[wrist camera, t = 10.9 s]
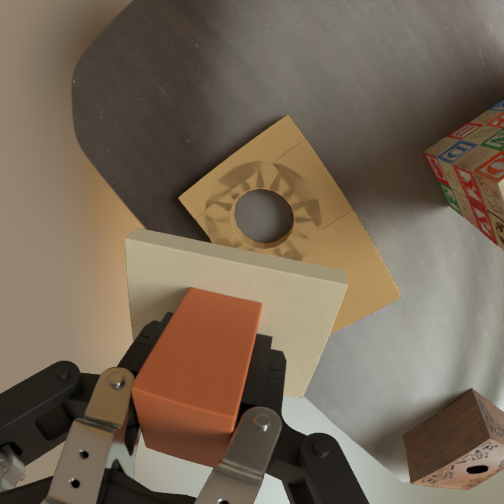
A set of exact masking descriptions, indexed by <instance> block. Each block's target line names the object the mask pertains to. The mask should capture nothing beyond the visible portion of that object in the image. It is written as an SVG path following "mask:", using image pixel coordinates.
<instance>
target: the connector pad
mask: <svg viewBox="0 0 504 504" xmlns="http://www.w3.org/2000/svg"><path fill="white" fill-rule="evenodd" d="M125 254H126V272H127V286H128V298H129V309H130V317H131V327H132V334H133V342H134V340H135V339H136V337H137V336H139V333H140V332H141V330H142V329H143V327H144V326H145V325H147V324H148V323H150V322H151V321H153V320H156V321H159V322H161V321H162V319H163V317H164V316H165V314H166V313H167V312H172V313H174V314H173V316H172V318H171V319H170V321H169V323H168V324H167V326H166V328H165V329H164V331H163V333H162V334H161V336H160V337H159V339H158V341H157V342H156V344H155V346H154V348H153V349H152V351H151V353H150V354H149V356H148V358H147V359H146V361H145V363H144V364H143V366H142V368H141V369H140V371H139V373H138V375H137V376H136V378H135V380H134V381H133V383H132V385H131V387H130V389H131V394H132V398H133V402H134V406H135V410H136V414H137V417H138V421H139V425H140V428H141V432H142V435H143V438H144V442H145V445H146V447H147V448H150V449H153V450H156V451H158V452H161V453H164V454H167V455H171V456H174V457H177V458H181V459H184V460H187V461H191V462H195V463H198V464H202V465H205V466H210V467H213V468H214V466H215V465H216V463H217V462H218V461H219V460H220V459H221V457H222V455H223V453H224V452H225V450H226V448H227V446H228V444H229V442H230V440H231V438H232V436H233V432H234V428H235V424H236V419H237V415H238V411H239V406H240V402H241V398H242V393H243V389H244V385H245V381H246V377H247V372H248V368H249V364H250V360H251V355H252V351H253V347H254V342H255V338H256V333H258V334H263V335H268V336H273V338H272V345H271V349H274V350H279V351H283V353H284V355H285V358H286V360H287V364H286V372H285V373H286V374H285V383H284V392H283V395H287V396H294V397H299V398H302V397H303V395H304V393H305V391H306V389H307V386H308V384H309V382H310V380H311V377H312V375H313V373H314V371H315V368H316V366H317V364H318V361H319V359H320V357H321V354H322V352H323V349H324V347H325V344H326V342H327V339H328V337H329V334H330V332H331V329H332V327H333V324H334V322H335V319H336V316H337V314H338V311H339V308H340V306H341V303H342V300H343V297H344V295H345V292H346V289H347V286H348V284H347V280H346V275H345V271H344V270H340V269H335V268H330V267H325V266H321V265H316V264H311V263H306V262H301V261H296V260H291V259H286V258H282V257H277V256H272V255H267V254H262V253H257V252H252V251H247V250H243V249H238V248H233V247H228V246H223V245H218V244H213V243H208V242H203V241H199V240H194V239H189V238H184V237H179V236H174V235H169V234H164V233H159V232H155V231H150V230H145V229H140V228H138V229H136V230H135V231H134V232H132V233H131V234H130V235H129V236H127V237H126V238H125Z"/></svg>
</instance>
